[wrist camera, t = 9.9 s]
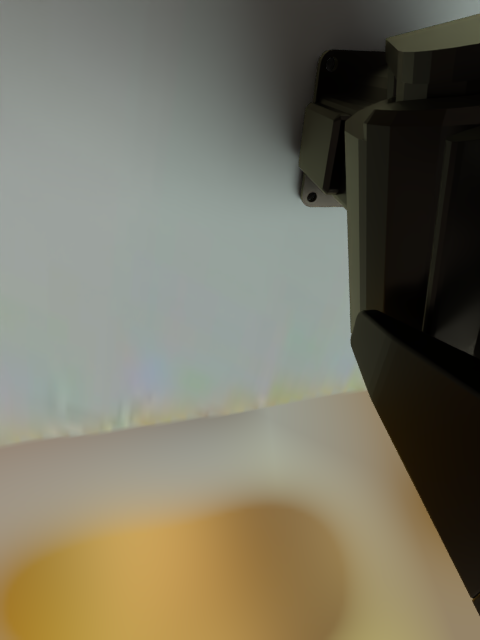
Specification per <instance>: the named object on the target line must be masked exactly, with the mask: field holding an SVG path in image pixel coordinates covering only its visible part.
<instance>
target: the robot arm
mask: <svg viewBox="0 0 480 640" xmlns="http://www.w3.org/2000/svg"><path fill="white" fill-rule="evenodd" d="M331 57H332V58H333V59H334V60H335V66H334V68H333V69H332V70H331V71H328V70H327V68H326V63H327V60H328V59H329V58H331ZM299 167H300V168H301V170H302V171H303V179H302V187H301V200H302V202H303V203H304V204H305V205H306V206H308V207H344V208H345V209H346V210H347V225H348V257H349V290H350V323H351V333H352V335H351V347H352V350H353V352H354V355H355V358H356V361H357V363H358V366H359V369H360V371H361V374H362V377H363V380H364V382H365V385H366V388H367V390H368V393H369V395H370V397H371V400H372V402H373V404H374V406H375V408H376V410H377V412H378V414H379V416H380V418H381V420H382V422H383V424H384V426H385V428H386V430H387V432H388V434H389V436H390V438H391V440H392V442H393V444H394V446H395V448H396V450H397V452H398V454H399V456H400V458H401V460H402V462H403V464H404V466H405V468H406V470H407V472H408V474H409V476H410V478H411V480H412V482H413V484H414V486H415V487H416V490H417V491H418V493H419V496H420V498H421V499H422V502H423V504H424V506H425V507H426V510H427V511H428V513H429V515H430V518H431V519H432V521H433V524H434V526H435V528H436V529H437V531H438V533H439V535H440V537H441V539H442V541H443V543H444V545H445V547H446V549H447V551H448V553H449V555H450V557H451V559H452V561H453V563H454V565H455V567H456V569H457V571H458V573H459V575H460V577H461V579H462V581H463V583H464V585H465V587H466V589H467V591H468V593H469V595H470V597H471V598H473V600H472V601H473V604H474V606H475V608H476V609H477V612H478V613H479V615H480V14H476V15H472V16H469V17H465V18H461V19H457V20H453V21H450V22H446V23H442V24H438V25H434V26H431V27H427V28H423V29H419V30H415V31H412V32H408V33H404V34H400V35H396V36H393V37H389V38H386V46H385V52H375V51H353V50H327V51H325V52H324V53H323V54H322V55H321V57H320V58H319V61H318V66H317V73H316V81H315V88H314V96H313V102H311V103H310V104H309V105H308V106H307V107H306V108H305V115H304V123H303V131H302V140H301V148H300V156H299ZM311 192H314V193H315V196H314V198H312V199H310V200H308V199H307V196H308V194H309V193H311Z"/></svg>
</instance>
